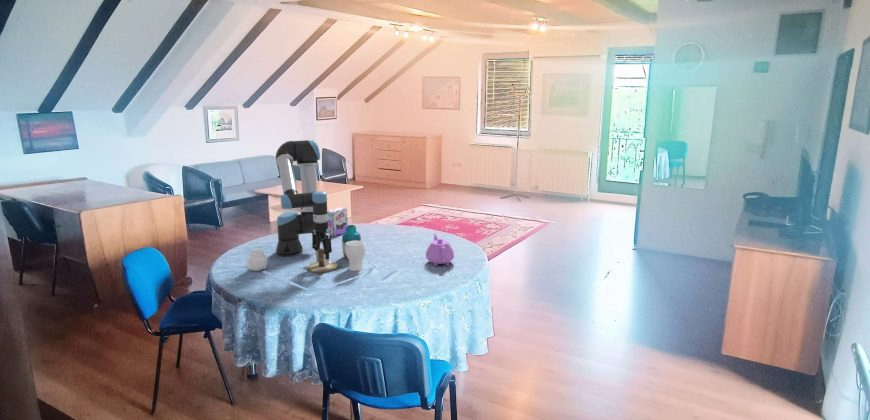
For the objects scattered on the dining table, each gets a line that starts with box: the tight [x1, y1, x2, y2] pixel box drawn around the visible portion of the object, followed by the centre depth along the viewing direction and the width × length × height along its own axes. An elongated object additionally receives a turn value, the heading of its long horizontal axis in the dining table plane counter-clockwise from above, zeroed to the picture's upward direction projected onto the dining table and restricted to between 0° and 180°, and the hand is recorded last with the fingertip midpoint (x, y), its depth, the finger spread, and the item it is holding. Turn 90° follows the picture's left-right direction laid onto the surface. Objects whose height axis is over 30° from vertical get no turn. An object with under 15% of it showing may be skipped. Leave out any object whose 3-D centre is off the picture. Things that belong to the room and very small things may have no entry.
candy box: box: [327, 207, 349, 237], centre depth 349 cm, size 14×6×16 cm, turn 147°
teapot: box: [425, 233, 455, 267], centre depth 295 cm, size 22×16×14 cm
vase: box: [341, 224, 362, 260], centre depth 300 cm, size 11×11×19 cm
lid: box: [307, 247, 338, 273], centre depth 283 cm, size 15×15×10 cm
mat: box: [301, 264, 345, 276], centre depth 284 cm, size 16×16×1 cm
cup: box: [345, 240, 366, 272], centre depth 282 cm, size 11×11×15 cm
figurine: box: [246, 246, 268, 272], centre depth 282 cm, size 10×10×12 cm
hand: (322, 263), depth 284 cm, fingers open, 6 cm apart
